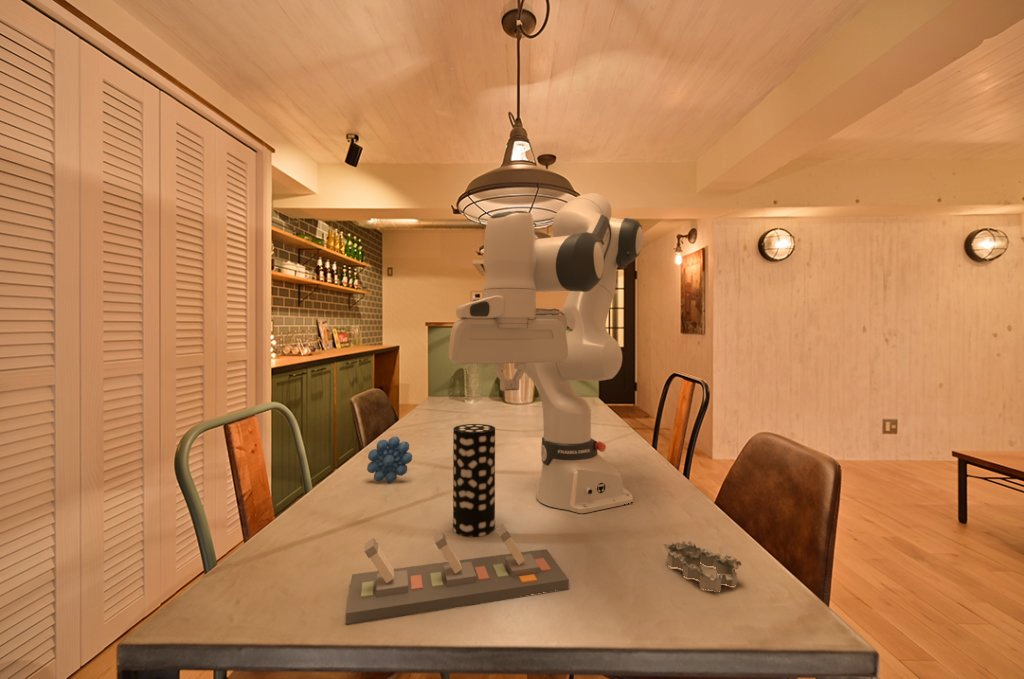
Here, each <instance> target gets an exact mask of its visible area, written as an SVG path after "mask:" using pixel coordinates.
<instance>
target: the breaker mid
mask: <svg viewBox="0 0 1024 679" xmlns="http://www.w3.org/2000/svg"><path fill="white" fill-rule="evenodd" d="M433 540H434V544H435V545H436V547H437V548H438V550H440V552H441V553H442V555H443V557H444V558H445V560H446V562H448V563H449V565H450V566H451V568H452V569H453V571H454V573H455V574H456V573H457V572H459V571H460V570H461V569H462V567H461V564H460V561H459V560H460V558H458V556H457V554H456V553H455V551H454V549H453V548H452V546H451V545H450V542H448V540H447V538H446V536H445V533H444V532H443V531H442V530H440V531H438V532H437V533H435V534H434V535H433Z"/></svg>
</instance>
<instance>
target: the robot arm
mask: <svg viewBox="0 0 1024 679" xmlns="http://www.w3.org/2000/svg"><path fill="white" fill-rule="evenodd" d="M552 219H553V220H552V224H551V226H552V227H551V230H552V236H553V237H552V236H551V237H544V238H539V237H538V235H536V233H535V226H534V218H533V214H532V213H531V212H528V211H526V210H525V211H524V210H513V211H503V212H498V213H494V214H492V215H491V216H489V217H488V219H487V222H486V224H485V231H484V238H483V239H484V240H483V261H482V262H483V269H484V272H485V281H484V285H483V293H482V294H483V295H482V296H483V297H482V298H477V299H473V300H472V301H469V302H466V303H463V304H461V305H458V306H457V307H456V309H455V314H456V317H457V318H458V320H456V321H455V322H454V323H453V325H452V327H451V331H450V337H449V343H448V344H449V346H448V358H449V360H450V362H451V363H453V364H455V365H477V364H478V365H483V364H484V365H491V364H493V371H494V373H495V374H496V376H497V378H498V380H499V390H500V391H502V392H505V391H519V390H520V381H521V378H522V377H523V375H524V374H526V375H527V376H528V378H530V379H531V382H532V383H533V384H534V385H535V387H536V390H537V393H538V394H539V398H540V401H541V402H540V403H541V405H542V415H543V416H542V418H543V419H542V420H543V436H542V438H541V446H540V448H541V449H540V458H541V462H542V466H541V467H542V468H541V474H540V481H539V485H538V489H537V493H536V496H535V497H536V499H537V501H538V502H539V503H541V504H543V505H545V506H548V507H551V508H555V509H560V510H567V511H571V512H574V513H578V514H587V513H591V512H595V511H596V512H597V511H600V510H605V509H609V508H614V507H619V506H625V505H628V503H629V504H632V503H631V502H634V498H633V497H634V496H633V494H632V493H631V492H630V491H629V490H628V489H627V488H625V487H624V486H623V480H622V476H621V473H620V471H619V470H618V469H617V468H616V467H614V466H613V465H612V464H611V463H609V461H607V460H606V459H605V458H604V457H602V456H601V455H600V454H598V453H599V452H603V453H604V452H605V451H606V449H607V445H606V444H605V443H604V442H602V441H597V440H595V439H594V438H592V435H591V434H592V428H591V427H592V409H591V407H590V404H589V403H588V401H587V400H586V399H585V398H583V397H582V396H580V395H579V394H577V393H576V391H575V390H574V388H573V386H572V384H571V381H580V382H592V383H593V382H601V381H606V380H611V379H613V378H614V377H615V376H617V374H618V373H619V371H620V369H621V367H622V364H623V352H622V348H621V346H620V344H619V343H618V341H617V340H616V339H615V338H614V337H613V336H612V335H610V334H609V333H608V331H607V327H606V326H607V325H606V322H607V318H608V315H609V311H610V308H611V305H612V302H613V300H614V296H615V292H616V286H617V276H618V275H617V269H618V267H619V269H621V270H624V269H626V268H627V266H628V265H629V264H630V263H633V261H635V260H636V259H637V258H638V257H639V255H640V253H641V251H642V248H643V245H644V241H645V240H644V239H645V236H644V231H643V226H642V225H641V223H640V222H639V221H638V220H636V219H633V218H628V217H624V218H619V217H612V207H611V204H610V202H609V200H608V199H607V198H606V197H605V196H603V195H602V194H601V193H600V194H599V193H596V192H588V193H583V194H580V195H578V196H576V197H573V198H572V199H570V200H569V201H567V202H566V203H564V204H563V205H562V206H561V207H560V208H559V209H558V211H556V213H555V215H554V217H553V218H552ZM566 291H568V295H567V297H566V299H565V301H564V304H563V306H562V310H561V311H560V309H558V308H538V307H537V294H536V293H537V292H538V293H539V292H540V293H541V292H542V293H547V292H548V293H549V292H550V293H551V292H566ZM567 328H569V329H571V330H572V331H570V332H566V331H567ZM505 364H513V365H514V366H513V367H514V369H516V371H515V373H514V375H513V378H506V376H505V374H504V372H503V371H504V370H505V369H506V368H505V367H506V365H505ZM598 451H599V452H598ZM624 504H625V505H624Z"/></svg>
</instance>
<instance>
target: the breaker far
mask: <svg viewBox="0 0 1024 679" xmlns="http://www.w3.org/2000/svg"><path fill="white" fill-rule="evenodd" d="M363 552H364V553H365V554H366V556H367V558H368V559H370V560H371V562H372V563H373V565H374V566H375V568H376V569H377V570H376V571H379V573H380V574H381V576H382V577H383V579H384V580H385V582H386V583H388V582H389V581H391V580H392V579H394V569H395V568H393V566H392V565H391V564H390V561H389V560H388V559H387V557H386V556H385V554H384V553H383V551H382V550H381V548H380V546H379V543H378V541H377V540H376V539H375V537H373V538H371V539H370V540H368V541H366V542H365V544H364V550H363Z"/></svg>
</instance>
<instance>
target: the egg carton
mask: <svg viewBox="0 0 1024 679" xmlns="http://www.w3.org/2000/svg"><path fill="white" fill-rule="evenodd" d="M663 546H664V548H665V549H666V550H667V566H668V565H669V566H671V567H678V568H681V569H683V572H682V576H683V575H684V576H685V577H687V578H695V579H698V580H699V581H700V582H698V583H699V584H698V585H699V586H700V587H701V588H702V589H704V590H705V589H706V590H708V589H709V590H713V591H715V592H719V591H721V592H722V586H721V584H727V585H729V586H735V585H737V580H738V578H737V577H738V576H737V574H738V573H737V572H736V570H738V569H739V567H742V562H741V561H740V560H738V559H737V558H735V557H732V556H729V555H727V554H726V555H725V556H723V555H722V554H720V553H714V552H713V551H711V550H709V549H706V548H703V547H700V546H699V547H697V545H696V543H693V542H691V541H689V542H688V543H686V541H682V542H681V543H680V542H676V543H674V542H671V544H667V543H663ZM700 562H701V563H702V564H704V565H706V566H714V567H716V570H715V572H716V571H717V573H718V574H720V575H719V576H718V575H714V574H712V573H707V574H705V573H703V572H702V569H701V564H700ZM717 573H716V574H717Z"/></svg>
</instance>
